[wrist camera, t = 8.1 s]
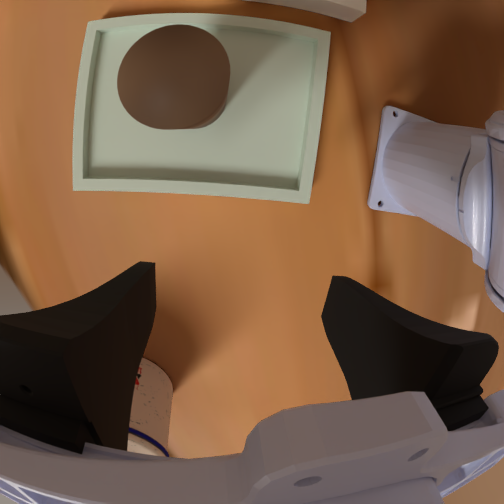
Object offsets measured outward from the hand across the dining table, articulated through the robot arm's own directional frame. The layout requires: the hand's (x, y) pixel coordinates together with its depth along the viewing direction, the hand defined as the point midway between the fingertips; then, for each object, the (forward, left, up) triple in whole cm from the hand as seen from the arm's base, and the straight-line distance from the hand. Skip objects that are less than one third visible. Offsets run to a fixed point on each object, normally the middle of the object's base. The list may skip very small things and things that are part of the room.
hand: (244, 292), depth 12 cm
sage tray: (+3, -8, -10) cm, 13 cm away
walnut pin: (+3, -8, -9) cm, 13 cm away
